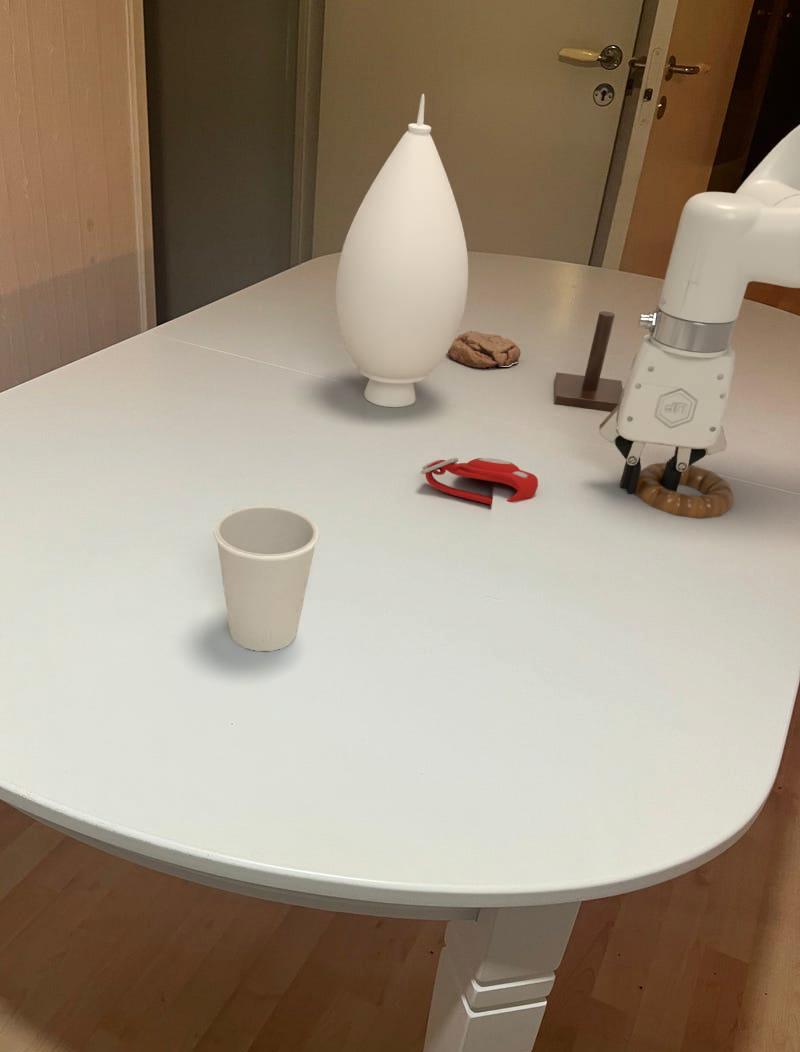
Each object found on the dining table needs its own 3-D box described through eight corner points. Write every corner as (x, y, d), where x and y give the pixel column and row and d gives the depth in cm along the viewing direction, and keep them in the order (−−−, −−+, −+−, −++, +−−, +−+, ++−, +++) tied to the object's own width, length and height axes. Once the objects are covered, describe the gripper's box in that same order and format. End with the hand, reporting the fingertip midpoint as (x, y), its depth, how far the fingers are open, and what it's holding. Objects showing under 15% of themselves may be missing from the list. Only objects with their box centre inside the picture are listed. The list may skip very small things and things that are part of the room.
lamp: (421, 372, 134) (458, 85, 113) (469, 417, 122) (520, 105, 101) (314, 378, 130) (331, 81, 109) (352, 426, 118) (380, 102, 97)
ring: (721, 486, 109) (728, 465, 107) (735, 530, 100) (743, 508, 99) (628, 474, 110) (634, 453, 109) (634, 516, 102) (640, 494, 100)
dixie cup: (223, 599, 85) (223, 499, 79) (317, 609, 85) (324, 509, 79) (205, 655, 78) (203, 550, 72) (306, 666, 78) (313, 561, 72)
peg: (619, 388, 134) (640, 307, 127) (623, 413, 126) (645, 328, 120) (554, 380, 135) (571, 299, 128) (554, 403, 128) (572, 319, 121)
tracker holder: (493, 454, 111) (559, 468, 103) (487, 492, 112) (551, 509, 104) (414, 450, 103) (479, 465, 96) (408, 491, 105) (472, 508, 97)
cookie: (529, 369, 138) (533, 348, 136) (460, 371, 135) (464, 350, 134) (502, 345, 146) (506, 325, 144) (437, 347, 143) (439, 327, 141)
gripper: (609, 333, 93) (570, 501, 104) (785, 352, 91) (726, 522, 102) (606, 310, 99) (570, 471, 110) (771, 328, 97) (717, 491, 108)
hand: (645, 494), depth 106 cm, fingers closed on ring, 3 cm apart
